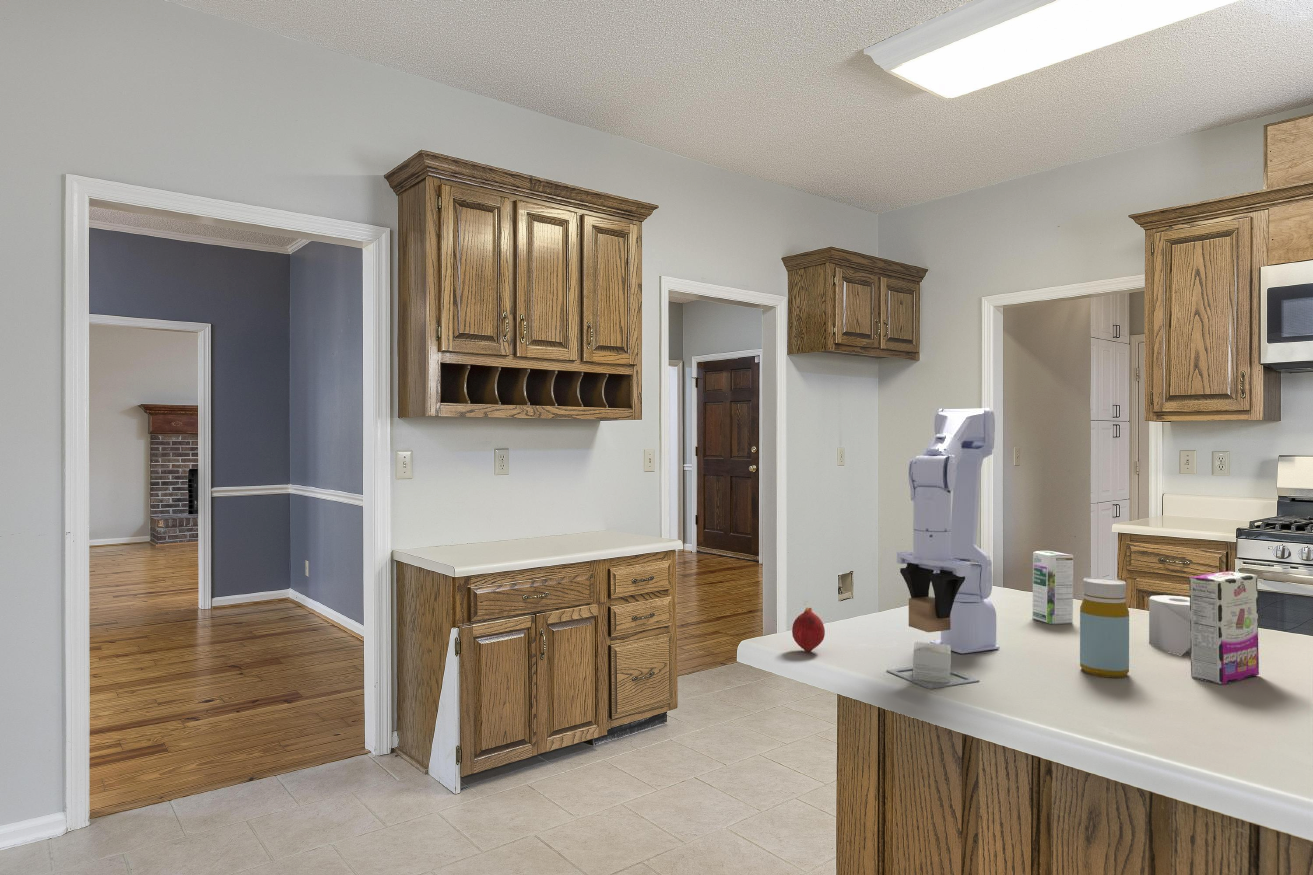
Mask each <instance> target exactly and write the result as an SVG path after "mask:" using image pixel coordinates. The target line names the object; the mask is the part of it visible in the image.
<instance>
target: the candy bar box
mask: <svg viewBox="0 0 1313 875" xmlns="http://www.w3.org/2000/svg"><path fill="white" fill-rule="evenodd" d="M1188 579H1189V598H1190V628H1191V630H1190V637H1191V653H1190V676H1191V677H1192V678H1194V679H1196V678H1199V679H1198V680H1200V679H1203V680H1202V681H1204V680H1206V681H1205V682H1209V683H1213V682H1214V684H1217V683H1218V685H1226V683H1227V684H1230V683H1229V682H1231V683H1233V682H1238V681H1241V680H1245V678H1246V679H1249V678H1252V677H1256V676H1258V675H1260V671H1259V670H1260V669H1259V668H1260V666H1259V665H1260V662H1259V657H1260V656H1259V653H1260V652H1259V612H1258V611H1259V610H1258V607H1259V605H1258V575H1257V574H1252V573H1245V572H1239V571H1237V572H1236V571H1221V572H1213V573H1207V574H1201V575H1195V576H1189V578H1188Z"/></svg>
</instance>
